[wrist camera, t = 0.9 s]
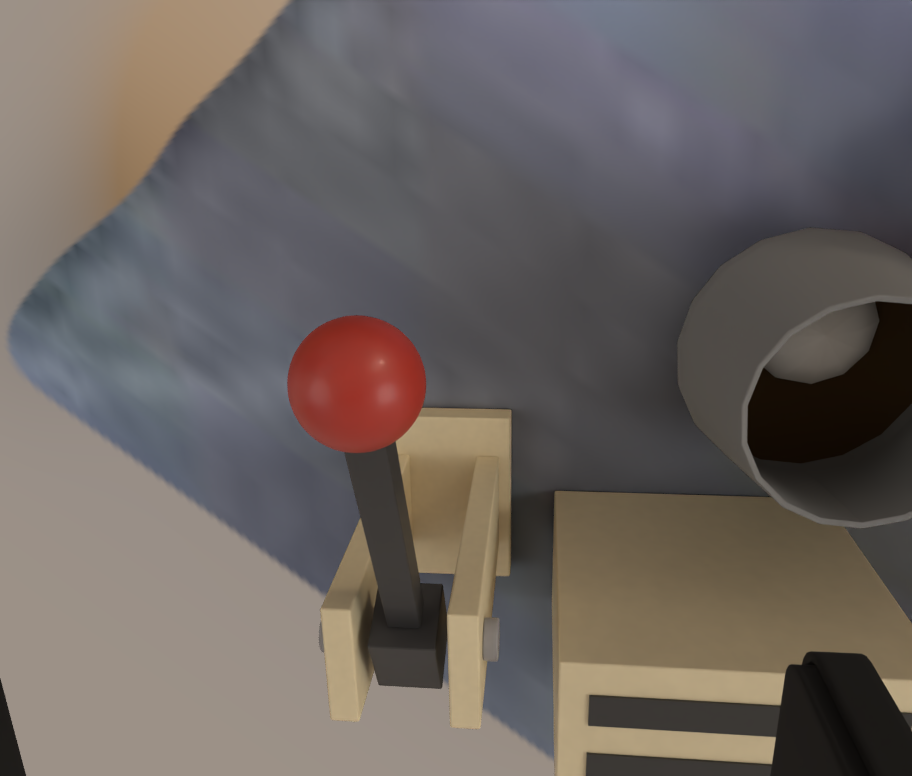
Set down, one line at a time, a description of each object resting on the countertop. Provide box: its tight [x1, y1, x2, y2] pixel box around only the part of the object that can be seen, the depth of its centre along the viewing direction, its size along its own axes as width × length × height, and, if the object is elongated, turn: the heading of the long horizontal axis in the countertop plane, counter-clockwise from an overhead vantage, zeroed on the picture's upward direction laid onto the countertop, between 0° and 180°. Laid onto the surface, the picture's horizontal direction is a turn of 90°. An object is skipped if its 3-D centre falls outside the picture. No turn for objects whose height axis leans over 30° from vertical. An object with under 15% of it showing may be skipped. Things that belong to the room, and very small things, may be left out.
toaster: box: [552, 491, 912, 776], centre depth 31 cm, size 6×12×12 cm, turn 91°
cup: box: [677, 227, 912, 529], centre depth 28 cm, size 10×9×10 cm
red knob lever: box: [287, 315, 447, 689], centre depth 23 cm, size 15×3×3 cm, turn 2°
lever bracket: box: [319, 408, 512, 729], centre depth 31 cm, size 8×6×13 cm
